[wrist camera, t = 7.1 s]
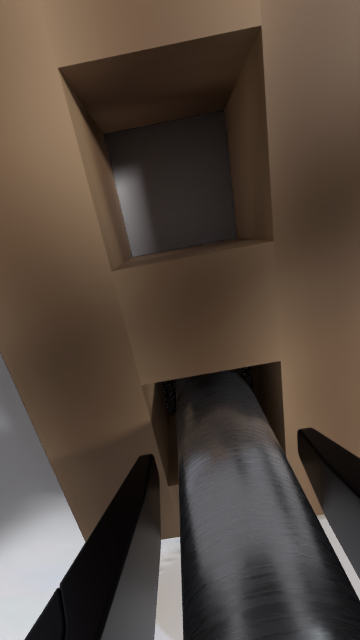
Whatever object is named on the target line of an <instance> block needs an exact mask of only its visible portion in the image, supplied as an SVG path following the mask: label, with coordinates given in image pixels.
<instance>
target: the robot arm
mask: <svg viewBox="0 0 360 640" xmlns="http://www.w3.org/2000/svg"><path fill="white" fill-rule="evenodd" d="M297 446H298V454H299V457H300V460H301V462H302V465H303V467H304V469H305V471H306V474H307V476H308V478H309V481H310V483H311V485H312V488H313V490H314V492H315V494H316V497H317V499H318V501H319V504H320V506H321V508H322V510H323V512H324V515H325V517H326V518H327V520H328V522H329V524H330V526H331V528H332V530H333V532H334V533H335V535H336V537H337V539H338V541H339V542H340V544H341V546H342V548H343V550H344V552H345V553H346V555H347V557H348V559H349V561H350V562H351V564H352V566H353V568H354V570H355V572H356V573H357V575H358V577H359V579H360V458H359V457H357V456H356V455H354V454H353V453H351V452H350V451H348V450H347V449H345V448H343V447H342V446H340V445H339V444H337V443H336V442H334V441H333V440H331V439H329V438H328V437H326V436H325V435H323V434H322V433H320V432H319V431H317V430H315V429H314V428H311V427H308V428H302V429H298V431H297ZM160 549H161V513H160V479H159V472H158V469H157V465H156V462H155V458H154V455H153V454H145V455H140V456H139V457H138V459H137V460H136V462H135V463H134V465H133V467H132V468H131V470H130V472H129V473H128V475H127V476H126V478H125V480H124V481H123V483H122V484H121V486H120V488H119V489H118V491H117V493H116V494H115V496H114V497H113V499H112V501H111V502H110V504H109V505H108V507H107V509H106V510H105V512H104V514H103V515H102V517H101V518H100V520H99V522H98V523H97V525H96V526H95V528H94V530H93V531H92V533H91V535H90V536H89V538H88V539H87V541H86V543H85V544H84V546H83V547H82V549H81V551H80V552H79V554H78V556H77V557H76V559H75V560H74V562H73V564H72V565H71V567H70V568H69V570H68V572H67V573H66V575H65V577H64V578H63V580H62V581H61V583H60V588H57V589H56V591H55V592H54V594H53V596H52V597H51V599H50V600H49V602H48V604H47V605H46V607H45V609H44V610H43V612H42V613H41V615H40V616H39V618H38V619H37V621H36V623H35V624H34V626H33V627H32V629H31V630H30V632H29V633H28V635H27V637H26V638H25V640H154V633H155V619H156V605H157V591H158V577H159V563H160Z"/></svg>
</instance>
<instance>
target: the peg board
mask: <svg viewBox="0 0 360 640" xmlns="http://www.w3.org/2000/svg"><path fill="white" fill-rule="evenodd" d="M221 110H225V120H226V130H227V140H228V150H229V160H230V170H231V180H232V190H233V199H234V209H235V219H236V229H237V238H233V239H228V240H222V241H217V242H212V243H206V244H201V245H196V246H190V247H185V248H180V249H174V250H169V251H164V252H158V253H153V254H148V255H142V256H137V257H132V254H131V249H130V245H129V241H128V237H127V232H126V228H125V224H124V219H123V215H122V211H121V207H120V202H119V198H118V194H117V189H116V185H115V181H114V177H113V172H112V168H111V164H110V159H109V155H108V151H107V147H106V142H105V138H104V134H107V133H112V132H117V131H122V130H127V129H132V128H137V127H142V126H146V125H151V124H156V123H161V122H166V121H171V120H176V119H181V118H186V117H191V116H196V115H201V114H206V113H211V112H216V111H221ZM0 353H1V355H2V357H3V360H4V362H5V364H6V366H7V368H8V371H9V373H10V375H11V377H12V380H13V382H14V384H15V386H16V388H17V391H18V393H19V395H20V397H21V400H22V402H23V404H24V406H25V408H26V411H27V413H28V415H29V417H30V420H31V422H32V424H33V426H34V428H35V431H36V433H37V435H38V437H39V440H40V442H41V444H42V446H43V448H44V451H45V453H46V455H47V457H48V460H49V462H50V464H51V466H52V468H53V471H54V473H55V475H56V477H57V480H58V482H59V484H60V486H61V489H62V491H63V493H64V495H65V497H66V500H67V502H68V504H69V506H70V509H71V511H72V513H73V515H74V517H75V520H76V522H77V524H78V526H79V529H80V531H81V533H82V535H83V537H84V540H85V542H86V541H87V539H88V538H89V536H90V535H91V533H92V531H93V530H94V528H95V526H96V525H97V523H98V522H99V520H100V518H101V517H102V515H103V514H104V512H105V510H106V509H107V507H108V505H109V504H110V502H111V501H112V499H113V497H114V496H115V494H116V493H117V491H118V489H119V488H120V486H121V484H122V483H123V481H124V480H125V478H126V476H127V475H128V473H129V472H130V470H131V468H132V467H133V465H134V463H135V462H136V460H137V459H138V457H139V456H140V455H145V454H153V455H154V458H155V462H156V465H157V469H158V472H159V479H160V513H161V540H162V539H168V538H175V537H180V513H179V481H178V449H177V417H176V413H172V414H169V412H168V408H167V404H166V399H165V395H164V391H163V386H162V381H168V380H173V379H179V378H185V377H191V376H196V375H202V374H208V373H214V372H219V371H225V370H231V369H237V368H242V367H248V366H250V368H251V377H252V387H253V393H254V395H255V397H256V399H257V401H258V403H259V405H260V407H261V409H262V411H263V413H264V415H265V417H266V419H267V421H268V422H269V424H270V426H271V428H272V430H273V432H274V434H275V436H276V438H277V440H278V442H279V444H280V446H281V448H282V450H283V452H284V454H285V456H286V458H287V460H288V462H289V463H290V465H291V467H292V469H293V471H294V473H295V475H296V477H297V479H298V481H299V483H300V485H301V487H302V489H303V491H304V493H305V495H306V497H307V499H308V501H309V503H310V504H311V506H312V508H313V510H314V512H315V514H316V515H321V514H324V512H323V510H322V508H321V506H320V504H319V501H318V499H317V497H316V494H315V492H314V490H313V488H312V485H311V483H310V481H309V478H308V476H307V474H306V471H305V469H304V467H303V465H302V462H301V460H300V457H299V454H298V446H297V431H298V429H302V428H308V427H311V428H314V429H315V430H317V431H319V432H320V433H322V434H323V435H325V436H326V437H328V438H329V439H331V440H333V441H334V442H336V443H337V444H339V445H340V446H342V447H343V448H345V449H347V450H348V451H350V452H351V453H353V454H354V455H356V456H357V457H359V458H360V0H0Z"/></svg>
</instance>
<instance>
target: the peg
mask: <svg viewBox="0 0 360 640" xmlns="http://www.w3.org/2000/svg"><path fill="white" fill-rule="evenodd" d="M175 385H176V417H177V449H178V481H179V513H180V545H181V575H182V607H183V640H360V600H359V598H358V596H357V594H356V592H355V590H354V589H353V587H352V585H351V583H350V581H349V579H348V577H347V575H346V573H345V571H344V569H343V567H342V566H341V563H340V561H339V559H338V557H337V555H336V553H335V551H334V549H333V547H332V546H331V544H330V542H329V540H328V538H327V536H326V534H325V532H324V530H323V528H322V526H321V524H320V522H319V520H318V518H317V516H316V514H315V512H314V510H313V508H312V506H311V504H310V503H309V501H308V499H307V497H306V495H305V493H304V491H303V489H302V487H301V485H300V483H299V481H298V479H297V477H296V475H295V473H294V471H293V469H292V467H291V465H290V463H289V462H288V460H287V458H286V456H285V454H284V452H283V450H282V448H281V446H280V444H279V442H278V440H277V438H276V436H275V434H274V432H273V430H272V428H271V426H270V424H269V422H268V421H267V419H266V417H265V415H264V413H263V411H262V409H261V407H260V405H259V403H258V401H257V399H256V397H255V395H254V393H253V391H252V389H251V387H250V385H249V383H248V381H247V380H246V378H245V376H244V374H243V372H242V370H241V368H237V369H231V370H225V371H219V372H214V373H208V374H202V375H196V376H191V377H185V378H179V379H175Z"/></svg>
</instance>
